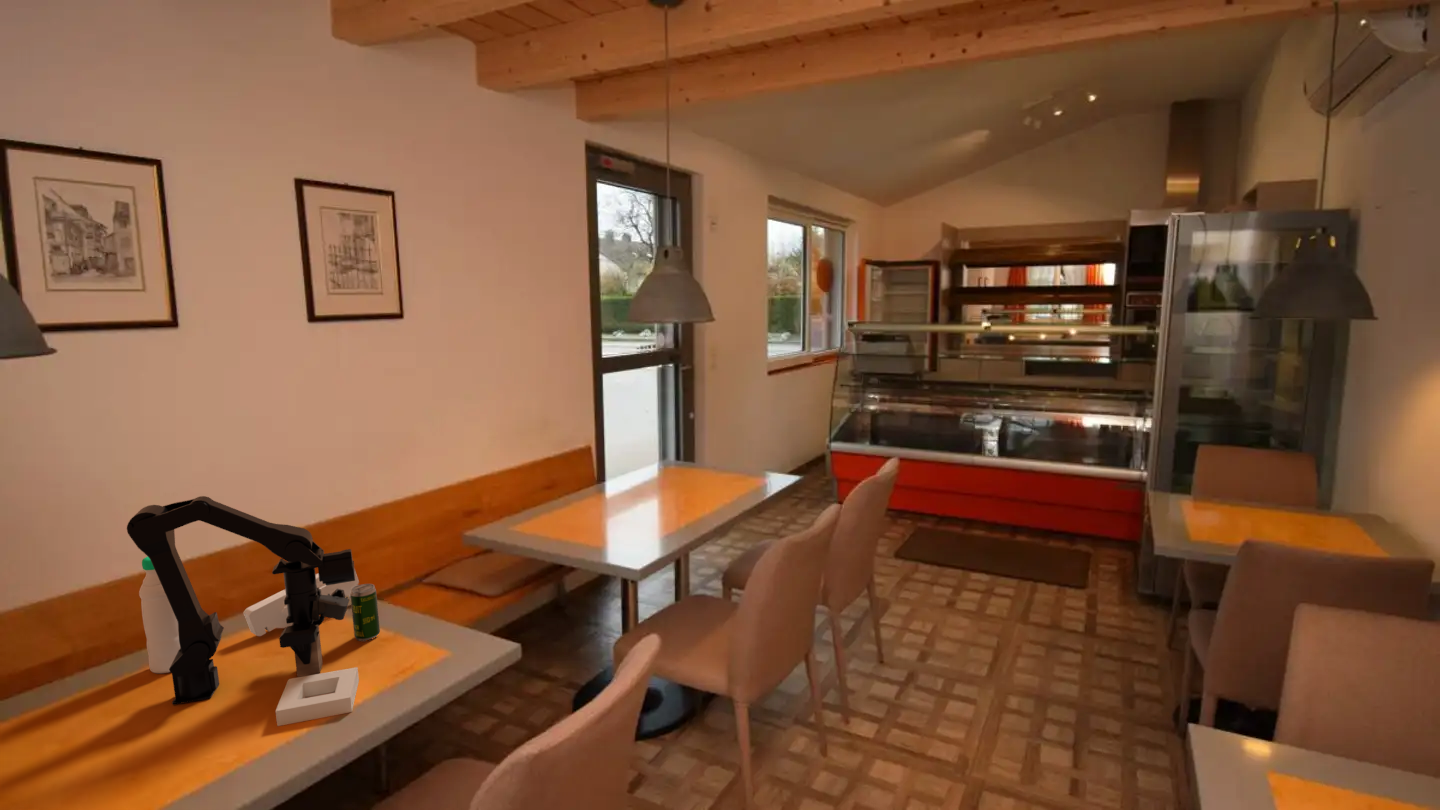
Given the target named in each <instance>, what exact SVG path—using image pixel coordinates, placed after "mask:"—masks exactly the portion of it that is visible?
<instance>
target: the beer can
mask: <svg viewBox="0 0 1440 810" xmlns="http://www.w3.org/2000/svg"><path fill="white" fill-rule="evenodd" d="M350 596H351V600H350V602H351V603H350V605H351V613H352V614H351V616H352V625H353V626H352V627H353V634H354V635H353V636H354V638H355V639H356V641H358V642H367V641H366V640H369V639H372V638H374V637H376V636H377V635H378V634H379V635H380V632H381V627H380V619H379V618H380V617H379V605H378V597H377V589H376V587H375V584H373V583H364V584H362V583H361V584H358V586H355V587H353V588H352V589H351V594H350ZM379 635H378V636H379ZM376 638H377V637H376ZM372 640H373V639H372ZM369 641H370V640H369Z"/></svg>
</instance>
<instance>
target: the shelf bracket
mask: <svg viewBox="0 0 1440 810" xmlns="http://www.w3.org/2000/svg"><path fill="white" fill-rule="evenodd" d="M315 575H316V584H317V588H319V589H321V595H328V594H330V595H331V594H332V593H333V592H334V591H335V590H336V589H342V590H344V594H345V598H346V597H348V599H349V601H351V596H350V594H351V589H352V588H353V587H355V586H358V585H359V584H360V581H359V577H358V575H357V572H356V570H355V581H350V582H344V583H338V584H332V585H327V586H326V584H323V582H322V581H321V582H320V581H319V573H315ZM285 597H286V591H285V589H283V590H281V591H278V592H276V593H275V594H272V595H271V596H268V597H267V598H265V599H262V600H260V601H258V602H256V603H254V604H252V605H250V606H248V607H246V608H245V610H244V611H243V612H242V614H243V617H244V619H245V620H246V623H247V626H248V628H249V630H250V633H251V634H253V635H255V636H257V637H262V636H264V635H266V634H267V632H271V631H273V630H275V629H285V628H286V627H287V626H292V624H293V623H288V624H287V622H286V618H287V616H288V609H287V605H285V604H284V599H285ZM266 631H267V632H266Z"/></svg>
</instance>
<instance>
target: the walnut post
mask: <svg viewBox="0 0 1440 810" xmlns="http://www.w3.org/2000/svg"><path fill="white" fill-rule="evenodd" d="M316 626H317V632H318V631H319V634H318V637H317V638H316V640H315V642H313V643H312V649H311V659H310V663H309V664H303V662H302V661H301V660H300V659H299V657H298V656H297V655H296V653H295V652H294V658H295V659H294V661H295V668H296V675H297V677H296V678H298V677H303V676H309V675H315V674H321V670H322V669H323V662H324V661H323V653H322V652H323V651H322V645H321V634H320V626H319V625H316Z"/></svg>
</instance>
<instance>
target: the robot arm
mask: <svg viewBox="0 0 1440 810" xmlns="http://www.w3.org/2000/svg"><path fill="white" fill-rule="evenodd" d="M198 521H200V522H204V523H205V524H207V525H211V526H214V527H216V528H219V529H222V530H225V531H226V532H230V533H233V534H235V535H238V536H239V537H243V538H246V539H248V540H251V541H253V542H256V543H258V544H261V545H262V546H264V547H265V548H266V549H267V550H269V551H270V552H271V553H272V554H274V555H275V556H277V557H279V558H280V559H279V560H278V562H277V564H275V565H273V569H272V571H271V573H272V575H279V574H283V581H284V588H285V591H286V597H285V599H284V604H285V605H287V609H288V616H287V618H286V622H287V624H288V623H293V624H292V626H287V627H285V628H283V629H284V630H282V631H281V634H280V635H279V638H278V639H279V647H280V648H281V649H283V648H285V649H286V648H290V649H291V650H292V651H293V652H294V654H295V653H296V655H297V656H298V657H299V659H300V660H301V661H302V662H303V664H309V663H310V659H311V649H312V643H313V642H315V640H316V638H317V637H318V634H319V633H320V630H319V631H318V632H317V626H316V625H319V627H320V626H321V625H322V623H323V622H324V620H325V618H330V619H335V620H336V621H342V620H344V619H345V615H346V612H347V609H348V605H349V602H350V599H349V596H346V597H345V594H344V590H342V589H336V590H335V591H334V592H333V593H332V594H331V595H330V594H328V595H321V589H319V588H317V584H316V569H318V573H319V581H320V582H321V581H322V582H323V584H326V586H327V585H332V584H338V583H344V582H350V581H355V571H356V568H355V561H354V560H353V553H352V552H353V551H352V549H351V548H349V549H348V548H347V549H343V550H340V551H335V552H328V553H325V550H324V549H323V548H322V547H320V545H318V543H316V542H315V541H314V540H313V539H314V538H313V536H312V533H311V532H310V530H308V529H306V528H304V527H299V526H294V525H289V524H284V523H283V524H282V523H281V524H280V523H273V522H269V521H266V520H265V519H261V518H259V517H257V516H255V515H251V514H249V513H246V512H244V511H241V510H238V509H237V508H234V507H231V506H229V505H225V504H223V503H221V502H218V501H216V500H213V499H212V498H210V497H209V496H204V495H201V496H197V497H195V498H192V499H188V500H182V501H177V502H173V503H170V504H165V505H159V504H158V505H157V504H150V505H147V506H144V507H142V508H141V509H140V510H139V511H138V512H137V513H136V514H134V515H133V516H132V517H131V518H130V520H129V521H128V523H127V525H126V531H127V535H128V536H129V537H130V538H131V540H132V541H133V543H134V544H135V545H136V547H137V549H138V550H140V551H141V552H143V554H145V556H146V557H149V558H150V560H151V562H152V564H153V567H154V569H155V571H156V573H157V576H158V578H159V580H160V583H161V585H162V587H163V589H164V592H165V594H166V596H167V598H168V601H169V603H170V605H171V608H172V610H173V612H174V614H175V617H176V619H177V621H178V632H179V643H180V649H179V651H178V653H177V655H176V657H175V659H174V660H173V662H172V664H171V666H170V668H169V670H170V672H169V673H171V678H172V683H173V693H174V699H173V700H172V705H174V706H175V705H181V704H186V703H187V704H188V703H192V702H197V701H203V700H208V699H211V698H212V697H213V695H214V693H215V692H216V691H217V689H218V687H219V685H220V678H219V672H218V671H219V670H218V666H216V665H214V664H215V663H214V659H213V658H212V657H214V655H215V654H216V652H217V649H218V647H219V645H220V642H221V639H222V633H223V631H224V629H225V628H224V626H223V625H221V623H220V622H219V621H220V620H219V617H218V613H217V612H216V611H215V612H213V613H211V614H208V613H207V612H206V611H205V610H204V608H202V605H201V604H200V601H199V599H198V596H197V593H196V591H195V589H194V587H193V585H192V583H191V580H190V577H189V576H188V573H187V570H186V568H185V566H184V564H183V560H181V559H182V558H181V557H180V555H179V552H178V549H177V547H176V537H175V536H176V535H175V530H176V529H179V528H181V527H184V526H187V525H190V524H191V523H194V522H198ZM318 573H317V574H318Z"/></svg>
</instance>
